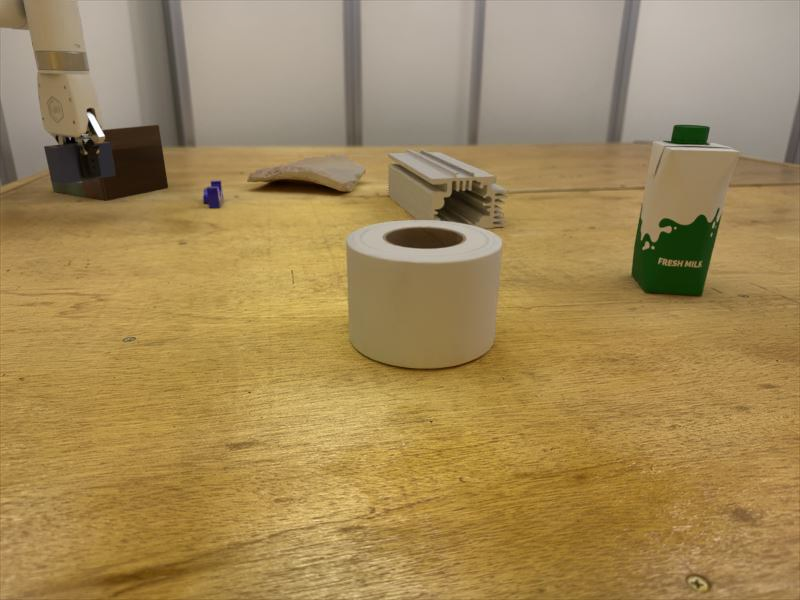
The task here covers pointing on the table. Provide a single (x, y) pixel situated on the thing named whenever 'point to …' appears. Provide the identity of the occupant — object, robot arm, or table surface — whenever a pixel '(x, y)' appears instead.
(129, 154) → the rack
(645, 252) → the milk carton
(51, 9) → the robot arm
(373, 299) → the tape roll
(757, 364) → the table surface
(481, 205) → the aluminum extrusion profile
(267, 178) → the pottery shard
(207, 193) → the cable holder
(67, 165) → the rectangular block
